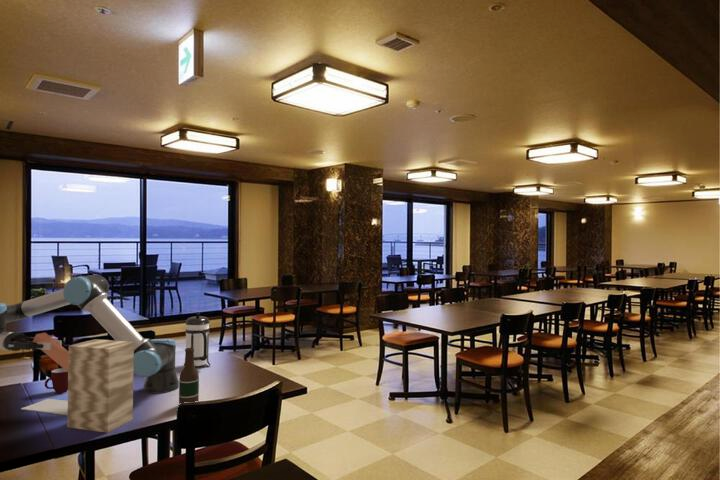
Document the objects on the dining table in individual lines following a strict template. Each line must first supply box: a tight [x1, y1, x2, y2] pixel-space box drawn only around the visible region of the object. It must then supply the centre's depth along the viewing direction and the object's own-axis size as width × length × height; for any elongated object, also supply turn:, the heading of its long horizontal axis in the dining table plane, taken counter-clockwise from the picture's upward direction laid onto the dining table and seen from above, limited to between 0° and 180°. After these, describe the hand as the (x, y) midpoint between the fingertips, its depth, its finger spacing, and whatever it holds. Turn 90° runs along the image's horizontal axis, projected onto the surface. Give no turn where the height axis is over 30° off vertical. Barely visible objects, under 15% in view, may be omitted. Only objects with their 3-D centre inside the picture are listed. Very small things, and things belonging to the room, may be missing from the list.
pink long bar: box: [33, 332, 69, 372], centre depth 183 cm, size 30×4×4 cm
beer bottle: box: [178, 348, 200, 405], centre depth 186 cm, size 8×8×24 cm
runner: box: [20, 398, 68, 416], centre depth 182 cm, size 30×12×1 cm, turn 76°
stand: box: [66, 338, 134, 433], centre depth 167 cm, size 18×12×30 cm, turn 76°
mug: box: [44, 367, 68, 394], centre depth 200 cm, size 11×8×10 cm
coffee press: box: [183, 312, 211, 368], centre depth 245 cm, size 17×16×30 cm
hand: (55, 345), depth 184 cm, fingers closed on pink long bar, 4 cm apart
